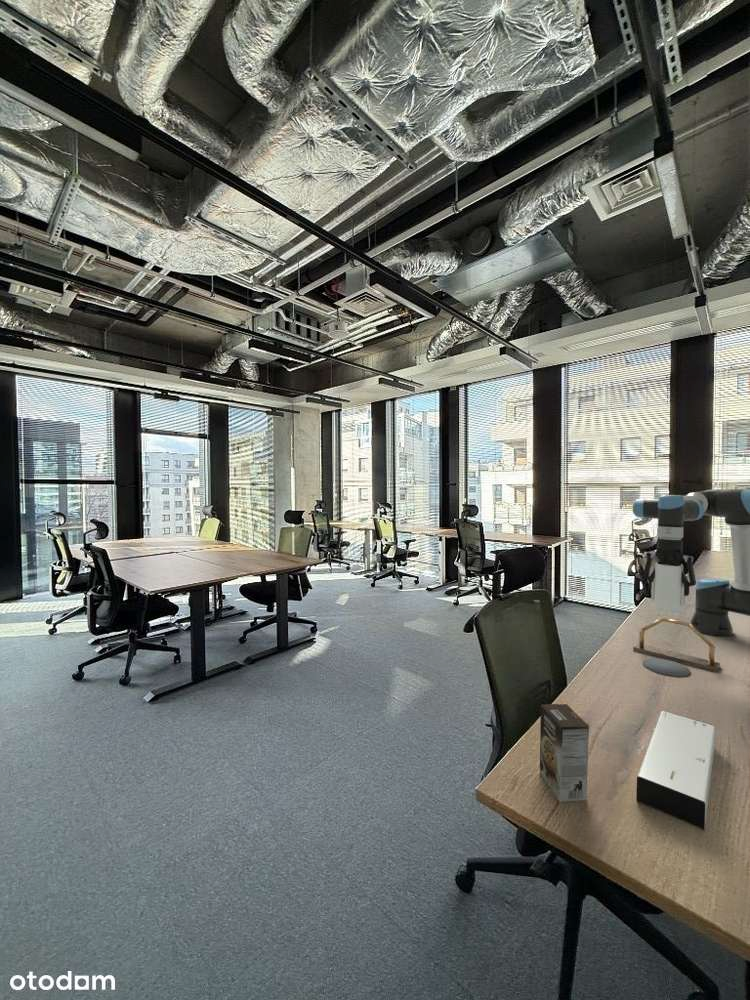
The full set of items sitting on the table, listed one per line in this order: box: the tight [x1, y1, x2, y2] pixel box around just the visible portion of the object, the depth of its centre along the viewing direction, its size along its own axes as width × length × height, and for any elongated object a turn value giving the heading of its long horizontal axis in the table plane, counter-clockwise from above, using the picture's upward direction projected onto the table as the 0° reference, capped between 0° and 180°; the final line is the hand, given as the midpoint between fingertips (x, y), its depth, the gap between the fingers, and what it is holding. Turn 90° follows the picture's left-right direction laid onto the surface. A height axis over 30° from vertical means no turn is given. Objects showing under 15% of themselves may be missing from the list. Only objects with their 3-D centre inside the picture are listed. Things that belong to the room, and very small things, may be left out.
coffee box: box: [539, 703, 590, 803], centre depth 92 cm, size 9×6×16 cm
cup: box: [653, 561, 684, 613], centre depth 152 cm, size 8×8×16 cm
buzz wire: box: [632, 617, 721, 673], centre depth 160 cm, size 6×26×15 cm, turn 43°
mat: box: [642, 657, 691, 678], centre depth 152 cm, size 14×14×1 cm
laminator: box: [635, 710, 716, 831], centre depth 97 cm, size 34×12×6 cm, turn 139°
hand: (667, 601), depth 152 cm, fingers closed on cup, 8 cm apart
